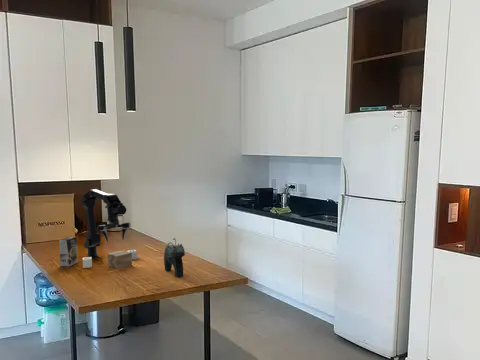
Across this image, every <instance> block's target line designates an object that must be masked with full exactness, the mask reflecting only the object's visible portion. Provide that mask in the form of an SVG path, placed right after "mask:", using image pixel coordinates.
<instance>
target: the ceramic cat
mask: <svg viewBox="0 0 480 360" xmlns="http://www.w3.org/2000/svg"><path fill="white" fill-rule="evenodd" d="M172 240H173V241H174V242H175V244H173V242H168V243H167V245H166V246H165V248H164V254H163V264H164V265H163V266H164V271H165V272H171V271H172V269H174V277H176V278H177V279H178V278H183V277H184V263H183V257H184V256H185V255H186V254H185V248H184V246H183V244H182V243H178V244H177V240H176V238H173V239H172ZM172 267H173V268H172Z"/></svg>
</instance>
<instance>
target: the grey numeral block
mask: <svg viewBox="0 0 480 360" xmlns="http://www.w3.org/2000/svg"><path fill="white" fill-rule="evenodd" d="M127 252H130V253H132V261H134V260H138V259H137V258H138V256H137V255H138V253H137V250H136V249H128V250H127Z"/></svg>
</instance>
